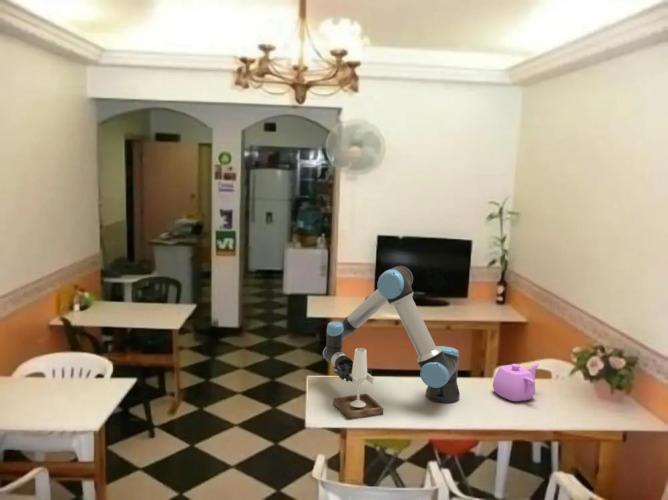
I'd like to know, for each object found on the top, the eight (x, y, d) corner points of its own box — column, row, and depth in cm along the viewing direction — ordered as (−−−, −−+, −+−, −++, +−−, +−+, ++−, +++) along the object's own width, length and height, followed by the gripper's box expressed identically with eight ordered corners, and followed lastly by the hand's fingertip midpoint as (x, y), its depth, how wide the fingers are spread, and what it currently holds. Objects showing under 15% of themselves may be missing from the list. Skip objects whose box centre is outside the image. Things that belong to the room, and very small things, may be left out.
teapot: (517, 409, 268) (520, 376, 266) (486, 391, 287) (489, 360, 285) (556, 402, 278) (559, 370, 275) (524, 385, 297) (527, 355, 294)
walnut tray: (366, 400, 271) (366, 393, 271) (383, 414, 257) (383, 408, 256) (333, 404, 265) (333, 397, 264) (348, 419, 250) (348, 413, 250)
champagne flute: (348, 406, 258) (351, 351, 254) (351, 400, 264) (354, 346, 260) (364, 408, 257) (367, 353, 253) (366, 401, 263) (369, 348, 259)
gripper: (361, 368, 279) (385, 387, 258) (321, 373, 272) (342, 392, 251) (362, 353, 278) (386, 370, 257) (322, 357, 270) (343, 375, 249)
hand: (364, 381), depth 254 cm, fingers closed on champagne flute, 7 cm apart
